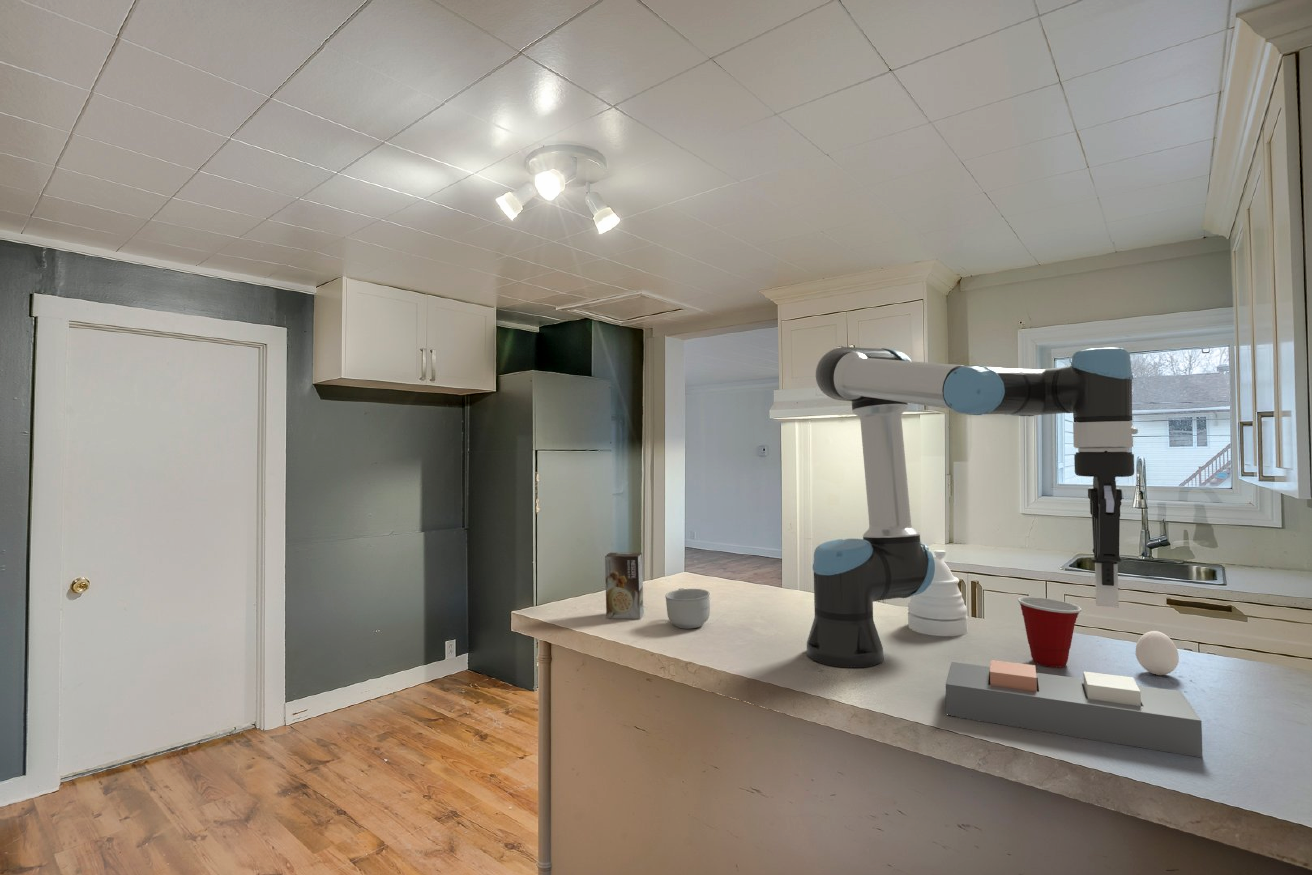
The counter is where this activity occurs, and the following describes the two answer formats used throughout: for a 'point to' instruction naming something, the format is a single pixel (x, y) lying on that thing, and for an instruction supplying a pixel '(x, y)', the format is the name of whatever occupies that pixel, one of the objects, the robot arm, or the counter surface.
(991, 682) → the terracotta key
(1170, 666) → the egg
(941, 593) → the honey pot
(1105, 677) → the offwhite key
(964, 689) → the key console
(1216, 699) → the counter surface
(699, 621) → the teacup
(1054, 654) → the plastic cup
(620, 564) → the coffee box
